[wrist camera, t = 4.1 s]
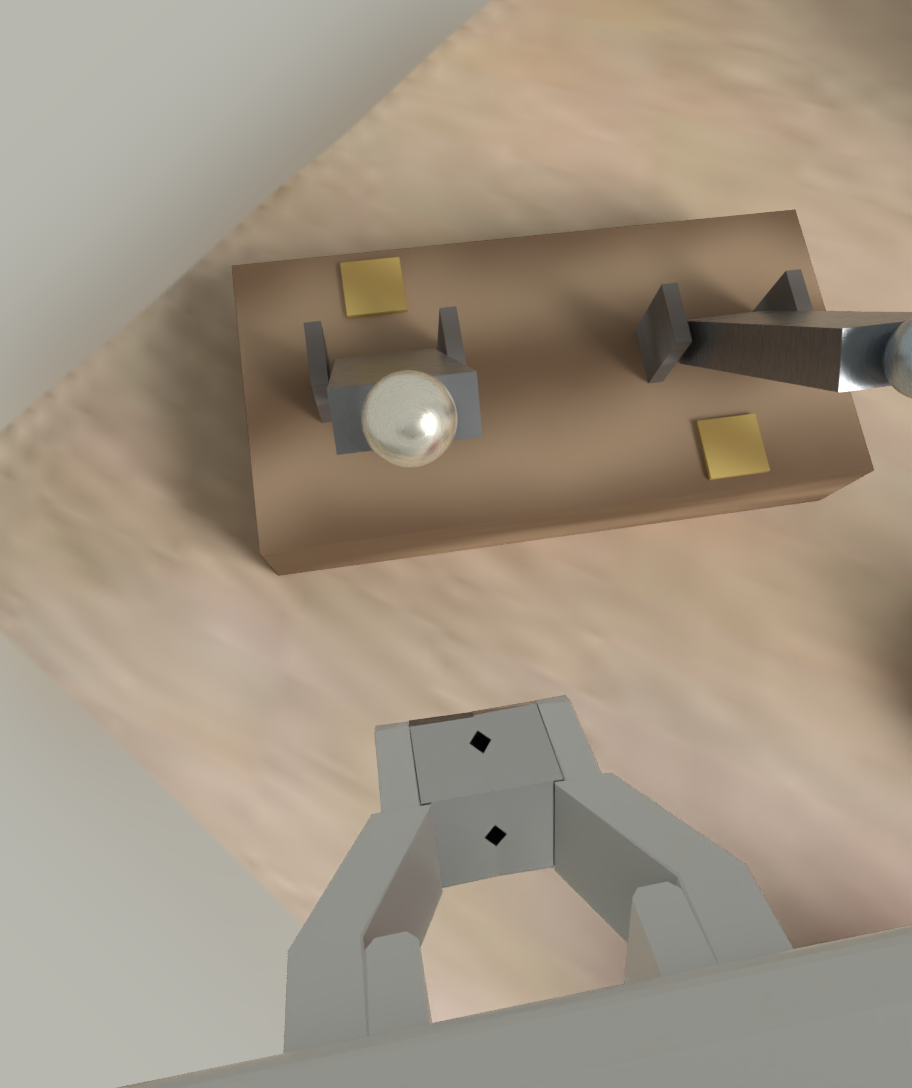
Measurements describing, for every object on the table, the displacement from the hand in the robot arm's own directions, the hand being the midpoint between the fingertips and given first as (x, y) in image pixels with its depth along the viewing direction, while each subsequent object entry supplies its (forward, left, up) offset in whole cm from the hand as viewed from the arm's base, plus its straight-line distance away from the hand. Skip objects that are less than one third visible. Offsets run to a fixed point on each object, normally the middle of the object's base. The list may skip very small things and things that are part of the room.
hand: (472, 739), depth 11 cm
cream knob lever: (-7, -11, -14) cm, 19 cm away
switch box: (-12, -8, -19) cm, 24 cm away
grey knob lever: (-18, -5, -14) cm, 23 cm away
